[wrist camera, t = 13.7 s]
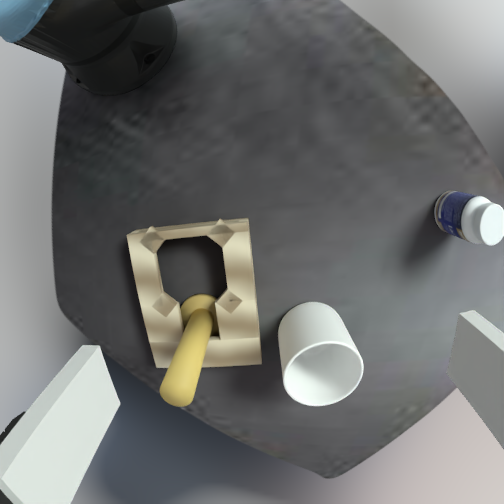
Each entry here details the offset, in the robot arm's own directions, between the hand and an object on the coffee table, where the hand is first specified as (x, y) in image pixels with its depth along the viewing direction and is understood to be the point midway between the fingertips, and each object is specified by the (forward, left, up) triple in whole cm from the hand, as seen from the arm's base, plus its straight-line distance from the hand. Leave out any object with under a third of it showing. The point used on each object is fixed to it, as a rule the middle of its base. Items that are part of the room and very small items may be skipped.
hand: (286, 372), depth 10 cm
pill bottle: (0, +25, -29) cm, 38 cm away
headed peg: (+11, -9, -29) cm, 32 cm away
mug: (+16, +5, -29) cm, 33 cm away
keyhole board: (+8, -9, -29) cm, 31 cm away
